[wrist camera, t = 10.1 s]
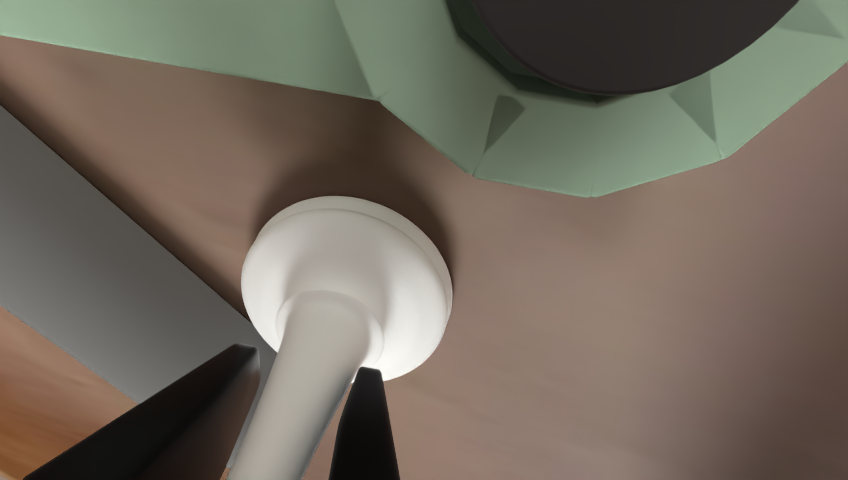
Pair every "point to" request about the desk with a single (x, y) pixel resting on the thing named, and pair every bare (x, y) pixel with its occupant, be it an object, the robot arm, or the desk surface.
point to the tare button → (626, 38)
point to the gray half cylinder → (104, 279)
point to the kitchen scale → (465, 79)
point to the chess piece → (333, 318)
